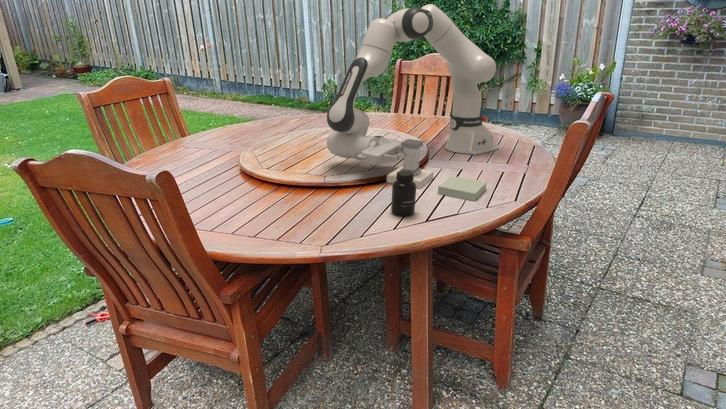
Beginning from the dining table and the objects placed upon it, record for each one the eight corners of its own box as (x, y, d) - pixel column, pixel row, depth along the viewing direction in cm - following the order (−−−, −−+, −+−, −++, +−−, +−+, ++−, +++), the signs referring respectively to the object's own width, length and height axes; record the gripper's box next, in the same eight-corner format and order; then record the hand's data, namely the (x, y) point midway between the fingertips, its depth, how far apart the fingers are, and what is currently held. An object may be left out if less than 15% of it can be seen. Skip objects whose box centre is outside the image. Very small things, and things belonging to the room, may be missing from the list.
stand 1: (401, 172, 175) (402, 165, 174) (433, 178, 169) (433, 171, 168) (386, 182, 165) (386, 175, 164) (419, 188, 159) (419, 181, 159)
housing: (406, 169, 170) (408, 138, 165) (421, 172, 167) (423, 141, 163) (399, 174, 165) (401, 142, 161) (414, 177, 163) (416, 144, 158)
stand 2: (451, 182, 165) (451, 175, 164) (485, 189, 160) (486, 182, 159) (437, 193, 156) (438, 186, 155) (474, 201, 150) (475, 193, 149)
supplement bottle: (407, 219, 137) (410, 178, 133) (386, 213, 140) (388, 174, 136) (418, 211, 143) (421, 172, 138) (398, 205, 146) (399, 167, 141)
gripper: (353, 147, 162) (390, 153, 156) (381, 134, 178) (416, 139, 172) (353, 165, 164) (389, 172, 158) (381, 151, 181) (415, 156, 174)
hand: (404, 155), depth 165 cm, fingers open, 8 cm apart
